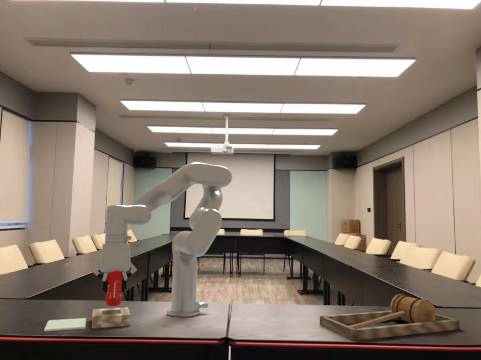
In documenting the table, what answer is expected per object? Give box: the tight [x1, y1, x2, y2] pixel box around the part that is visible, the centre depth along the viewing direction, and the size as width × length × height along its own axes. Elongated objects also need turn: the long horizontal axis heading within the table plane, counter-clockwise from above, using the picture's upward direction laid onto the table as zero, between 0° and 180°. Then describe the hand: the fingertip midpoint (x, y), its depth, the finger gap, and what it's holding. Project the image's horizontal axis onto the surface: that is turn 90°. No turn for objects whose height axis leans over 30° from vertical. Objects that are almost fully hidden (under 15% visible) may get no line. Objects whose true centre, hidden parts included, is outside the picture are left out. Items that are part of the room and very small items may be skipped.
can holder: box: [91, 306, 132, 329], centre depth 130 cm, size 12×12×4 cm
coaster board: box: [43, 317, 87, 333], centre depth 125 cm, size 12×12×1 cm
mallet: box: [348, 293, 436, 329], centre depth 131 cm, size 12×38×10 cm, turn 113°
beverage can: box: [105, 271, 123, 307], centre depth 131 cm, size 5×5×12 cm
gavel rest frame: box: [319, 310, 461, 341], centre depth 132 cm, size 45×19×3 cm, turn 111°
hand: (114, 291), depth 131 cm, fingers closed on beverage can, 5 cm apart
